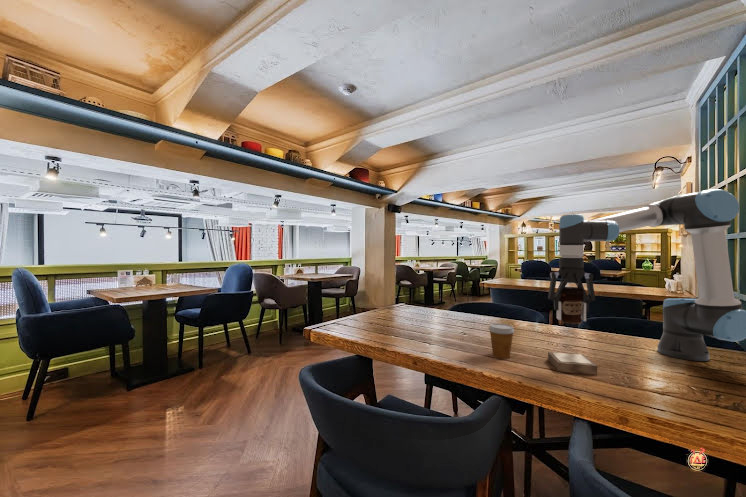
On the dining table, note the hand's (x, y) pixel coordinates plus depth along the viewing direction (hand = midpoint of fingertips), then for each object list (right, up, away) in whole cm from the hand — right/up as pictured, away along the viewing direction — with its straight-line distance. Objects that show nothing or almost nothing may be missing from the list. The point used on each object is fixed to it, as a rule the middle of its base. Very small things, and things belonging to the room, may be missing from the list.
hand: (571, 319), depth 115 cm
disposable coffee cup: (-21, -17, +11) cm, 29 cm away
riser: (0, -17, 0) cm, 17 cm away
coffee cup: (0, -1, 0) cm, 1 cm away
